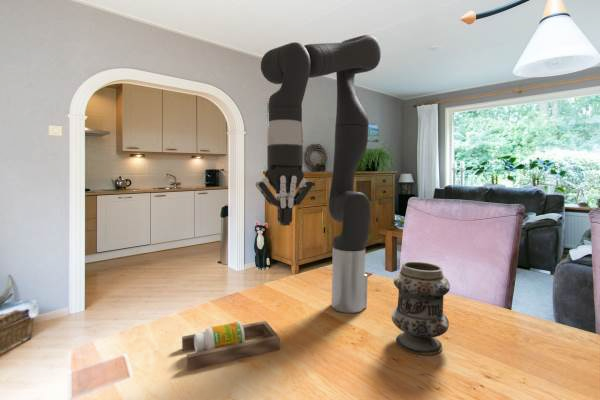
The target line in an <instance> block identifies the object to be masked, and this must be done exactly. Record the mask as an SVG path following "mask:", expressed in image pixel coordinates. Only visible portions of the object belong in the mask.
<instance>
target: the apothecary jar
mask: <svg viewBox="0 0 600 400" xmlns="http://www.w3.org/2000/svg"><path fill="white" fill-rule="evenodd" d="M393 284H394V286H395V288H397V290H398V298H397V306H396V307H394V308H393V310H392V311H391V321H392V323H393V324H394V326H395V327H396V328H397V329H399V330H400V331H402V332H401V333H399V334H398V335H397V336H396V337H395V342H396V344H397V346H399V347H400V348H401V349H403V350H405V351H406V352H409V353H412V354H417V355H420V356H421V355H422V356H432V355H437V354H439V353H440V352H441V351H442V350H443V344H442V343H441V342H440V340H438V338H437V337H440V336H443V335H444V334H446V332H447V331H448V329H449V326H450V322H449V320H448V317H447V315H446V314H445V313H444V296H446V295H447V294H448V293H449V291H450V289H451V286H450V285H451V284H450V282H449V280H448V279H447V278H446V277H445V276H444V273H443V267H441V266H440V265H438V264H436V263H430V262H427V261H426V262H424V261H415V260H414V261H412V260H411V261H405V262H403V263H402V265H401V269H400V270H399V272H396V274H395V275H394V277H393Z"/></svg>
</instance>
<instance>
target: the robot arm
mask: <svg viewBox="0 0 600 400" xmlns="http://www.w3.org/2000/svg"><path fill="white" fill-rule="evenodd" d="M380 46H381V45H380V43H379V41H378V39H377V38H376V37H375V36H373V35H371V34H363V35H359V36H355V37H353V38H349V39H346V40H343V41H341V42H326V43H322V42H321V43H310V44H305V45H303V44H302V43H300V42H289V43H287V44H282V45H281V46H278V47H275V48H271V49H269V50H268V51H266V52H265V53H264V55H263V56H262V58H261V61H260V69H261V70H260V71H261V74H262V76H263V77H264V79H265V80H267V81H268V82H269V83H272V84H273V85H274V84H275V85H281V86H280V87H279V89H278V90H276V91H275V92H274V93H272V94H271V95H270V96H269V98H268V123H267V125H268V126H267V131H266V133H267V136H266V137H267V140H266V142H267V143H266V145H267V147H266V149H267V150H266V152H267V157H266V159H267V162H266V163H267V169H266V172H265V175H264V177H263V178H262V179H261V180H259V181H256V183H255V186H256V188H257V190H258V191H259V193H261V195H262V196H263V197H264V198H265V200H266V201H267V202H268V204H269V205H271V206H275V207H276V208H277V222H278V223H279V225H280V226H283V227H284V226H291V223H292V221H293V208H294V207H296V206H298V205H301V203H302V202H303V200H304V199H305V198H306V196H307V194H308V193H309V192H310V190H311V189H312V187H313V186H314V183H313V181H309V180H308V179H306V178H305V173H304V171H303V163H304V162H303V160H304V159H303V158H304V157H303V156H304V153H303V150H304V134H303V133H304V132H303V126H302V125H303V106H302V105H303V100H304V97H305V94H306V89H307V86H308V81H309V79H310V78H316V77H317V78H318V77H321V76H322V77H323V76H327V75H331V74H335V73H336V117H335V129H334V152H333V166H332V177H331V184H330V191H329V197H328V212H329V213H328V214H329V215H330V217H331V218H332V219H333V220H334V221H336V222H339V223H342V225H341V226H342V228H341V231H340V232H341V233H339V234H338V235H335V236H334V237H333V239H332V262H331V263H332V265H331V266H332V267H331V268H332V269H331V271H332V272H331V308H333V309H334V310H335V311H337V312H341V313H346V314H354V313H359V312H362V311H363V310H364V309H366V308H367V307H368V278H369V277H368V274H366V247H367V246H366V245H367V243H368V239H369V236H370V227H371V226H370V225H371V215H372V214H371V213H372V211H371V210H372V209H371V208H372V207H371V203H370V200H369V197H368V196H367V195H366V194H365V193H363V192H359V191H354V183H355V175H356V171H357V169H358V167H359V164H360V162H361V161H362V159H363V157H364V155H365V153H366V150H367V147H368V143H369V141H368V139H369V125H370V124H369V123H370V122H369V117H368V115H367V113H366V111H365V109H364V107H363V105H362V104H361V102H360V100H359V98H358V97H357V93H356V90H355V89H356V88H355V75H356V74H362V73H367V72H371V71H373V70H375V69H376V68H377V67H378V65H379V64H380V60H381V57H382V56H381V54H382V52H381V47H380ZM270 186H271V188H272V189H273V190H274V194H273V193H272V191H271V190H270V189H269V188H270ZM298 187H299V189H298ZM297 189H298V190H297Z"/></svg>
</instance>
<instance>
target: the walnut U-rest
mask: <svg viewBox="0 0 600 400" xmlns="http://www.w3.org/2000/svg"><path fill="white" fill-rule="evenodd" d="M242 326H243V329H244V335H245V339H249V338H252V337H257V336H261V335H263V336H264V337H263V338H259V339H253V340H249V341H245V342H244V343H239V344H234V345H230V346H225V347H220V348H215V349H211V350H206V351H201V352H197V353H195V352H193V353H188V354H186V370H187V371H188V372H189V371H193V370H196V369H201V368H205V367H210V366H215V365H219V364H222V363H228V362H231V361H237V360H240V359H243V358H244V359H245V358H249V357H253V356H257V355H261V354H266V353H270V352H274V351H279V350H281V337H280V336H279V335H278V334H277V332H276V331H275V330H274V329H273V327H272V326H271V325H270V323H268V322H267V320H263V321H258V322H257V321H256V322H253V323H247V324H242ZM203 333H205V331H203ZM195 334H196V333H194V334H189V335H185V336H184V335H183V336H182V338H181V339H182V341H181V347H182V351H183V352H185V351H190V350H195V347H194V335H195Z"/></svg>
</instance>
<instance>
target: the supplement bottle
mask: <svg viewBox="0 0 600 400" xmlns="http://www.w3.org/2000/svg"><path fill="white" fill-rule="evenodd" d="M242 325H243V324H242V322H240V321H236V322H235V321H234V322H231V323H226V324H218V325H215V326H209V327H207V328H206V329H205V330H204V332H205V333H204V332H197V333H194V334H195V335H194V347H195V349H194V353H197V352H201V351H206V350H211V349H215V348H220V347H225V346H230V345H234V344H239V343H244V342H246V338H245V335H244V329H243V326H242Z"/></svg>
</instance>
